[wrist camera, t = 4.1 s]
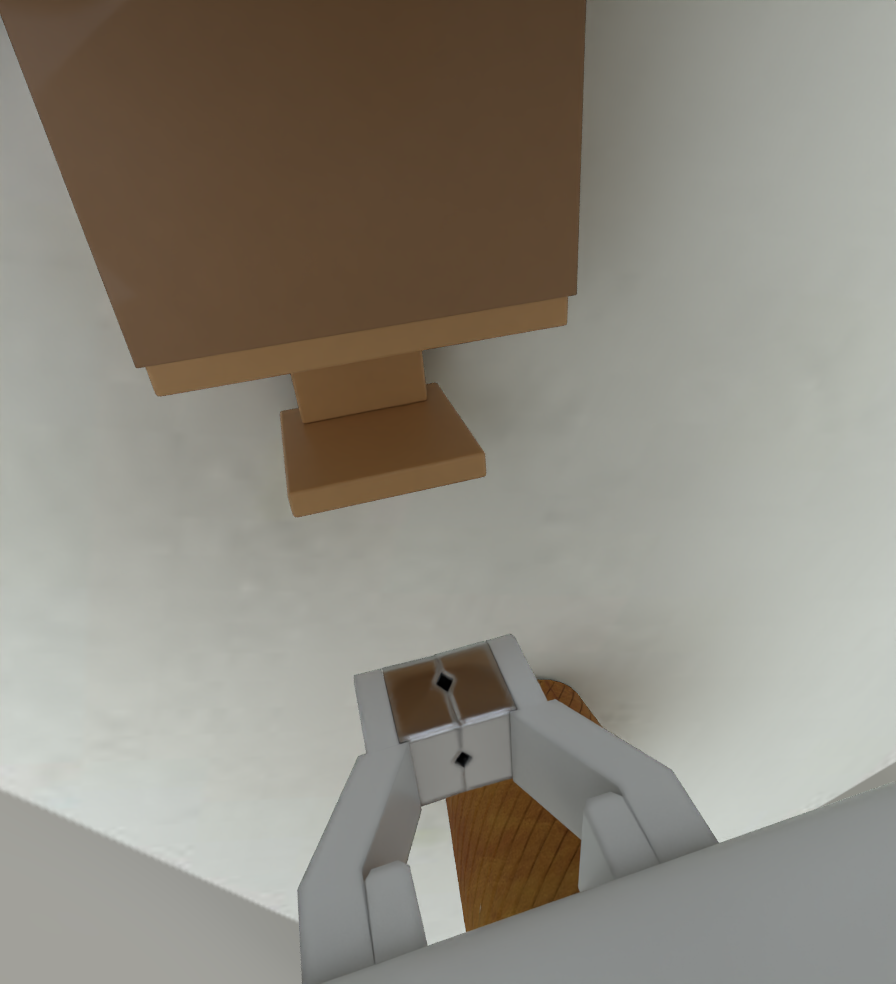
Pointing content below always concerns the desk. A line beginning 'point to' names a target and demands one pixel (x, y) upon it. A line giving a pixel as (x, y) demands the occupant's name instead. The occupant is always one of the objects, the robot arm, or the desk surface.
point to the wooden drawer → (320, 202)
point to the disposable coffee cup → (512, 843)
